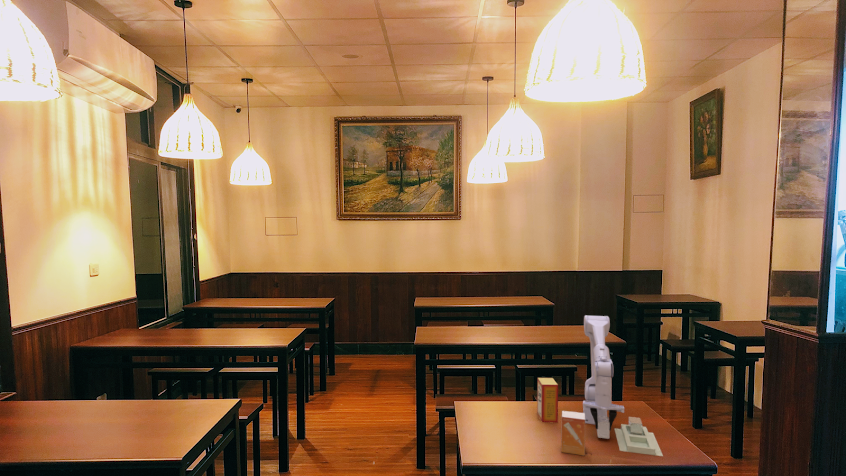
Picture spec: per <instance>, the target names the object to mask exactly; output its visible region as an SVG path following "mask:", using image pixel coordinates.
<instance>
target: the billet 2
mask: <svg viewBox="0 0 846 476" xmlns="http://www.w3.org/2000/svg"><path fill="white" fill-rule="evenodd" d="M642 422H643V421H642V419H641V417H635V416H628V425H629V434H633V435H642V426H643V423H642Z"/></svg>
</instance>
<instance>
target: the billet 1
mask: <svg viewBox="0 0 846 476" xmlns="http://www.w3.org/2000/svg"><path fill="white" fill-rule="evenodd" d="M597 423H598V429H596V433H597V438H600V439H601V438H602V439H607V440H608V439H609V440H610V431H609V427H610V423H609V416H608V415H607V416H598V415H597Z"/></svg>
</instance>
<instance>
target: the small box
mask: <svg viewBox="0 0 846 476" xmlns="http://www.w3.org/2000/svg"><path fill="white" fill-rule="evenodd" d="M560 431H561V432H560V433H561V435H560V436H561V437H560V439H561V441H560V443H561V448H560V451H561V452H560V453H566V454H573V455H580V456H584V457H585V455H586V454H585V453H586V452H585V451H586V423H585V413H583V412H577V411H567V410H562V411H561V430H560Z"/></svg>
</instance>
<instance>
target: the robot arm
mask: <svg viewBox="0 0 846 476" xmlns="http://www.w3.org/2000/svg"><path fill="white" fill-rule="evenodd" d="M610 320H611V319H610V317H609V316H608V315H604V316H603V315H586V314H585V315H584V316H583V329H584V330H583V332H584V335H585V337H588V338H589V342H590V364H591V366H590V367H591V369H590V370H591V377H590V378H588V379H586V381H585V382H584V398H585V400H583V401H582V409H583V411H582V413H585V424H590V425H595V430H597V429H598V423H597V415H598V416H607V417H608V418H609V423H610V427H609V432H611V430H612V426H613V424H614V421H615V419H616V417H617V415H618V413H617V412H620V413H623V414H624V413H625V407H624V405H619V404H615V403H612V387H613V386H612V378H613V377H614V364H613V363H614V362H613V361H612V359H611V356H610V349H609V347H608V346H607V345H606V337H608V334H609V333H610V332H609V331H610V327H611V323H610Z"/></svg>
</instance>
